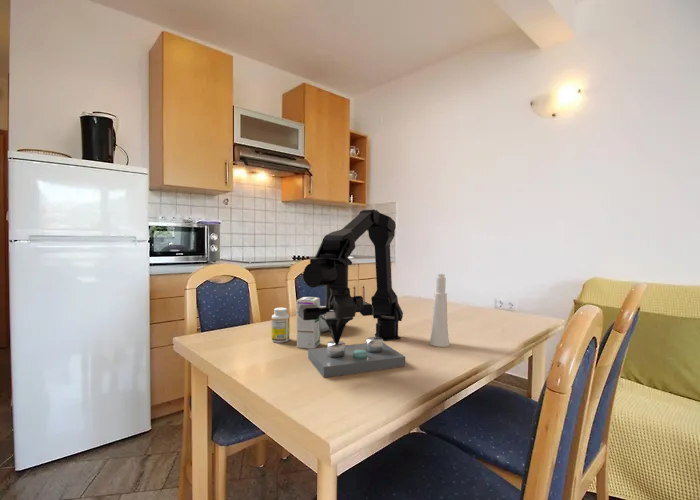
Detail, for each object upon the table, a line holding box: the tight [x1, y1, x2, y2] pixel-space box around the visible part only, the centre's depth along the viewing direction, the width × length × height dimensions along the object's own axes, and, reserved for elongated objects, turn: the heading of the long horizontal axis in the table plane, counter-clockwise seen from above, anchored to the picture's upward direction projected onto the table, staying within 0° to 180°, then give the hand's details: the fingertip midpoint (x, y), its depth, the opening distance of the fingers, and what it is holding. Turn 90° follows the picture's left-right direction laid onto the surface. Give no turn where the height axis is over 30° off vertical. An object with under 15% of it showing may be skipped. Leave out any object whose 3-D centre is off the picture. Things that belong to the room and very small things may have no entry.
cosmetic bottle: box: [429, 273, 451, 348], centre depth 110 cm, size 6×6×22 cm
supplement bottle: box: [271, 307, 290, 344], centre depth 111 cm, size 6×6×10 cm
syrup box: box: [296, 296, 321, 350], centre depth 106 cm, size 6×6×14 cm
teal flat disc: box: [353, 350, 367, 359], centre depth 90 cm, size 4×4×1 cm
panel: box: [307, 342, 406, 378], centre depth 93 cm, size 22×14×2 cm, turn 112°
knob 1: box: [326, 340, 346, 358], centre depth 91 cm, size 5×5×6 cm
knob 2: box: [365, 336, 384, 353], centre depth 95 cm, size 5×5×6 cm
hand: (336, 343), depth 91 cm, fingers closed, pressing on knob 1
